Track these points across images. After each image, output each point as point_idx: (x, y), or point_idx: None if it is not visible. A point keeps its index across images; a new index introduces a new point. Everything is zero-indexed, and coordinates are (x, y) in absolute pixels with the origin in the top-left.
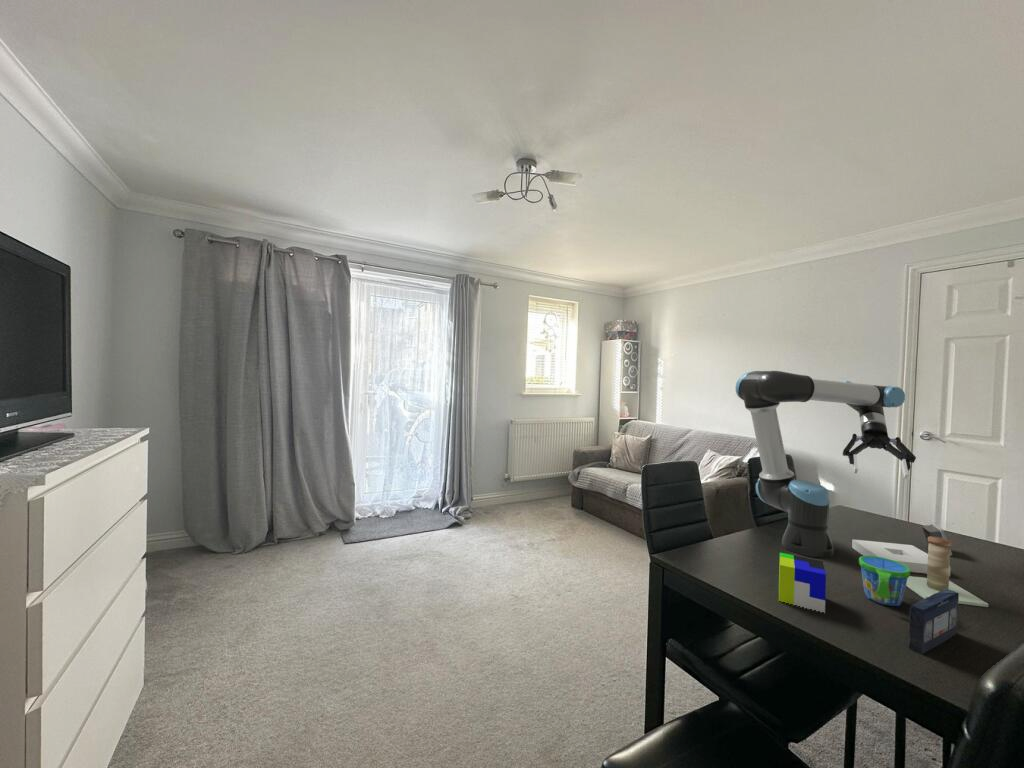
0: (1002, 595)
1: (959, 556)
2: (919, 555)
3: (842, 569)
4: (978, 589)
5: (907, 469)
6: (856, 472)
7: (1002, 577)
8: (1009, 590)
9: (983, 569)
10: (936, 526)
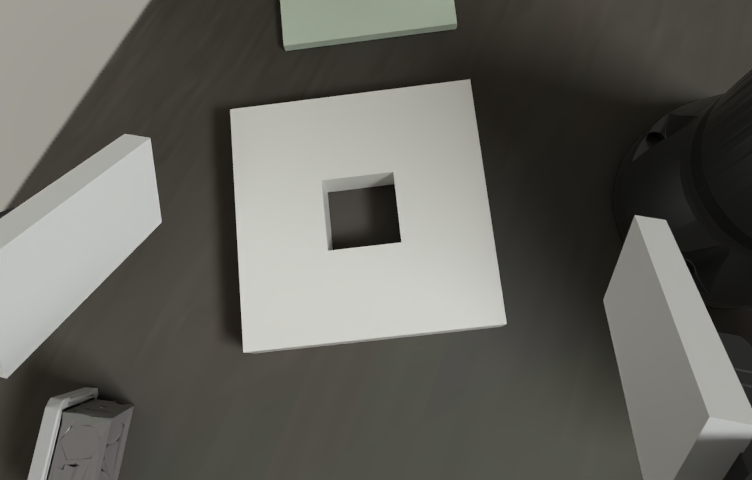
0: (169, 16)
1: None
2: (285, 200)
3: (621, 25)
4: (216, 36)
5: (77, 166)
6: (615, 283)
7: None
8: (115, 71)
9: None
10: (42, 467)
